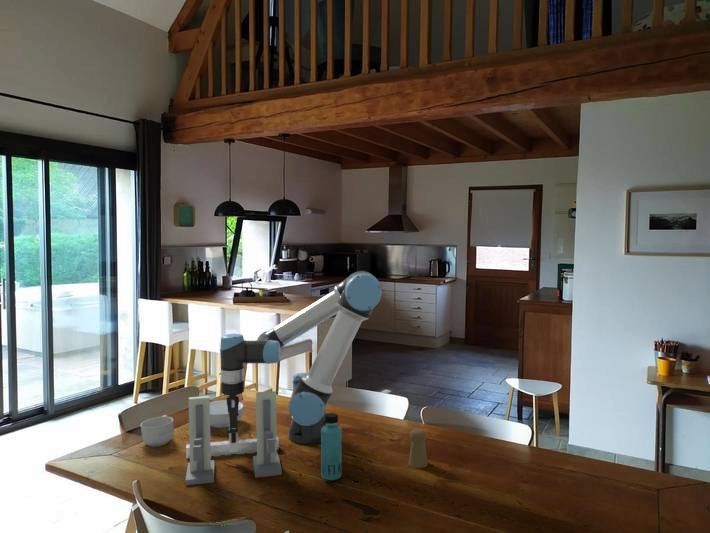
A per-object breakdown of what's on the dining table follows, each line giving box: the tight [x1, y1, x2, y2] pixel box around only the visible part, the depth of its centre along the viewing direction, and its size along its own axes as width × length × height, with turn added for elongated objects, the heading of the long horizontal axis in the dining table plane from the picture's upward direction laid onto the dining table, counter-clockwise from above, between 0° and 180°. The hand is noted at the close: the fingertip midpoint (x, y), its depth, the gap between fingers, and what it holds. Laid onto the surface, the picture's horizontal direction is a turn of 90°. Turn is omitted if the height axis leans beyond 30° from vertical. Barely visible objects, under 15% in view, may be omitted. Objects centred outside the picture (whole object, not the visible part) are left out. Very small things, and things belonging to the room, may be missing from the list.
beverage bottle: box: [320, 412, 343, 481], centre depth 155 cm, size 6×7×20 cm
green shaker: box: [408, 428, 428, 469], centre depth 166 cm, size 6×6×11 cm
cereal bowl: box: [210, 399, 244, 429], centre depth 201 cm, size 17×17×7 cm
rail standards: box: [185, 390, 283, 486], centre depth 156 cm, size 28×23×24 cm
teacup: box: [139, 414, 175, 448], centre depth 184 cm, size 14×11×8 cm
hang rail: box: [185, 436, 280, 460], centre depth 175 cm, size 30×3×4 cm, turn 103°
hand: (233, 443), depth 175 cm, fingers open, 13 cm apart
